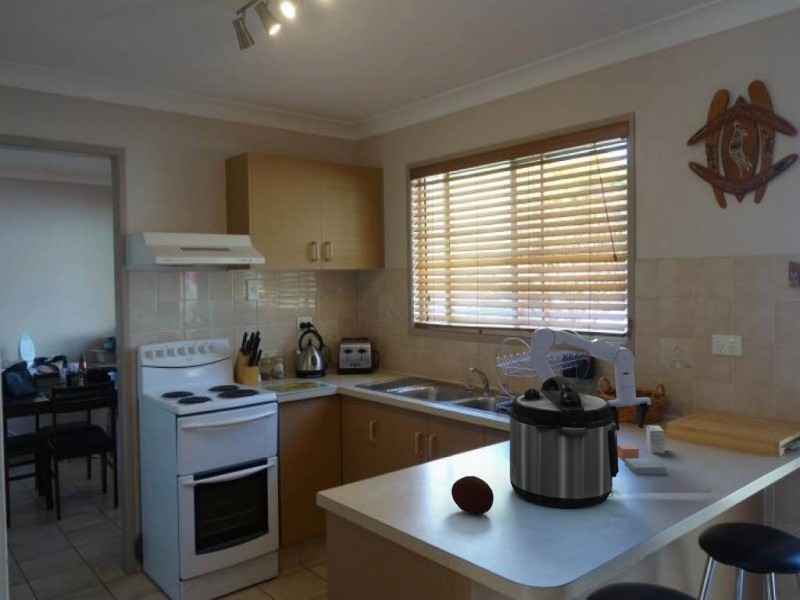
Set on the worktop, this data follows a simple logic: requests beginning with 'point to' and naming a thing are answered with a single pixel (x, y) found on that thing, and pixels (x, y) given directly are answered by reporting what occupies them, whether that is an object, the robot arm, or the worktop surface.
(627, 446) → the red cube
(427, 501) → the worktop surface
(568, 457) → the pressure cooker
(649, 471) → the top block
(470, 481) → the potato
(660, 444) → the medicine box
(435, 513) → the worktop surface
